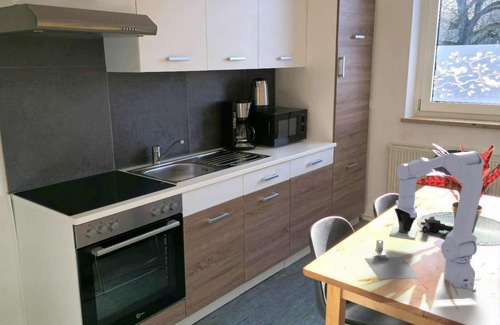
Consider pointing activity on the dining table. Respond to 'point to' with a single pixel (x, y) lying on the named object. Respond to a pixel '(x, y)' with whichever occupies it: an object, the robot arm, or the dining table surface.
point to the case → (391, 268)
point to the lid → (402, 232)
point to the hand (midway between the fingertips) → (404, 229)
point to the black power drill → (434, 226)
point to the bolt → (380, 248)
